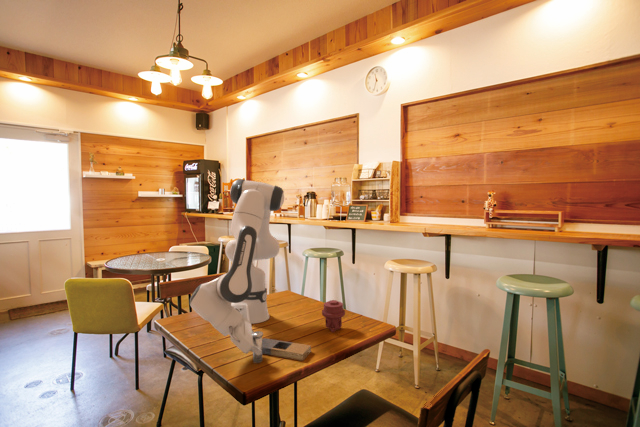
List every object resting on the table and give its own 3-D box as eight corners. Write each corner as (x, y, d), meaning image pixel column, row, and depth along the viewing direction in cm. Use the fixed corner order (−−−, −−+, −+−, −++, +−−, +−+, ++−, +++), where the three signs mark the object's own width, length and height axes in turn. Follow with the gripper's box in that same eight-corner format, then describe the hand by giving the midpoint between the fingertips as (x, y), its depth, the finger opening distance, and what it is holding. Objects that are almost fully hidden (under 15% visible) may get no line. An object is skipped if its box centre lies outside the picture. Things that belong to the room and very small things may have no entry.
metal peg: (249, 362, 116) (249, 334, 116) (255, 357, 120) (255, 330, 119) (259, 364, 115) (259, 336, 114) (265, 359, 118) (265, 332, 118)
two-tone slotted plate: (253, 352, 124) (253, 345, 124) (264, 344, 131) (263, 338, 131) (302, 360, 117) (302, 354, 117) (310, 351, 124) (310, 345, 124)
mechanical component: (346, 325, 149) (343, 334, 139) (324, 324, 151) (320, 333, 141) (346, 298, 148) (343, 305, 139) (324, 297, 150) (319, 304, 141)
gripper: (236, 326, 105) (268, 352, 108) (236, 306, 125) (263, 329, 127) (221, 341, 104) (254, 368, 107) (224, 319, 124) (251, 342, 127)
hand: (259, 346), depth 117 cm, fingers open, 8 cm apart
